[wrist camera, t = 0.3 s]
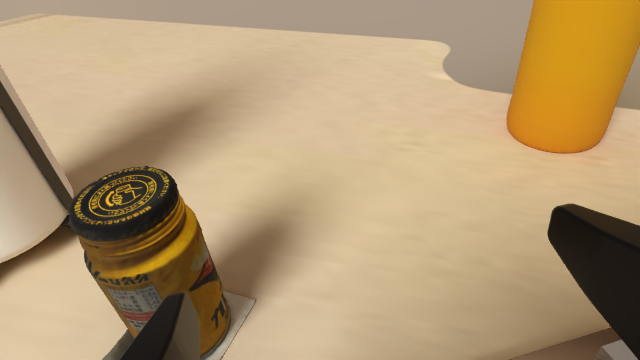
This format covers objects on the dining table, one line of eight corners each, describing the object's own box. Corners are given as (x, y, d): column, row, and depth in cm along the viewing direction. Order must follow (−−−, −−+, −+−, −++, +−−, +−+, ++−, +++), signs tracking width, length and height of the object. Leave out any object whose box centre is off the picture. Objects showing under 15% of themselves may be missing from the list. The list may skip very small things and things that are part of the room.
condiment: (256, 301, 28) (215, 166, 21) (182, 422, 22) (89, 290, 15) (175, 276, 31) (114, 147, 24) (89, 379, 25) (-29, 247, 18)
